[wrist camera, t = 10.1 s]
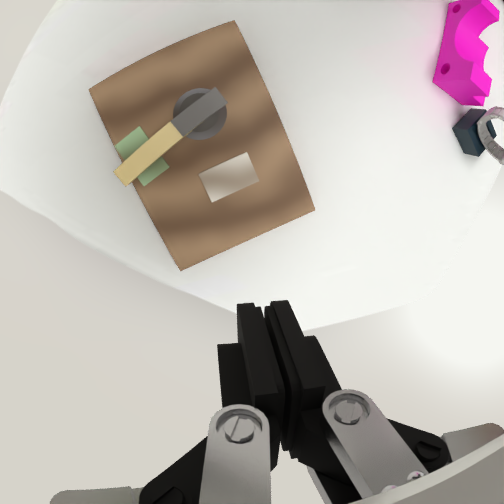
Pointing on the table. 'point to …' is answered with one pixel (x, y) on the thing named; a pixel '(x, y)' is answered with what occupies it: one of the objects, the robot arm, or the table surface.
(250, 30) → the table surface
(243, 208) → the wooden lever switch board
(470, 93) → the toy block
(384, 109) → the table surface
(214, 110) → the lever handle
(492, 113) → the watch
